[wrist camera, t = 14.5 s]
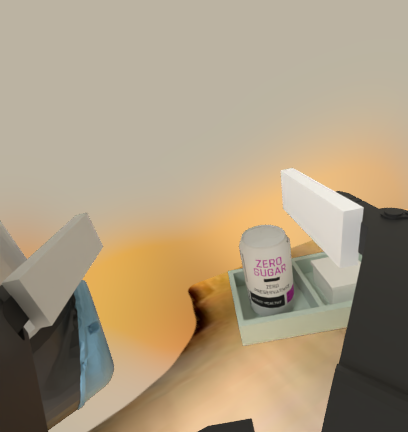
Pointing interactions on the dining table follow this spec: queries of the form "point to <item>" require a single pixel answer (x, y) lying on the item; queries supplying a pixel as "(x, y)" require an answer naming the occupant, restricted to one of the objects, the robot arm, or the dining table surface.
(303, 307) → the divided tray
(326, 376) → the dining table surface
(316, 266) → the pale grey square block
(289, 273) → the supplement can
